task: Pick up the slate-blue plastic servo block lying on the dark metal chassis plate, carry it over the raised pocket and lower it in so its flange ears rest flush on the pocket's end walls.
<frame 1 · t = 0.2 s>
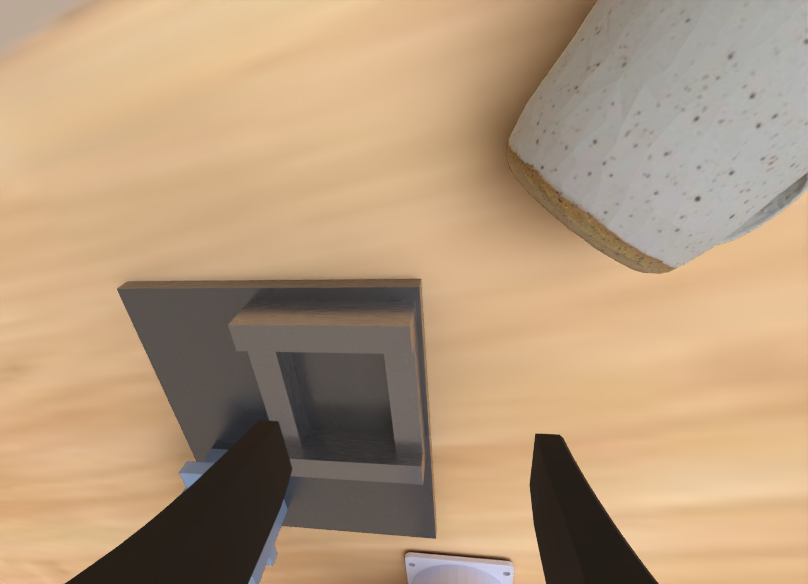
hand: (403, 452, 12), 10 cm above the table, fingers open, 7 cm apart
chassis: (303, 421, 26), on the table
ceramic mug: (664, 110, 16), on the table
servo: (250, 480, 29), point 1 cm above the table, touching chassis
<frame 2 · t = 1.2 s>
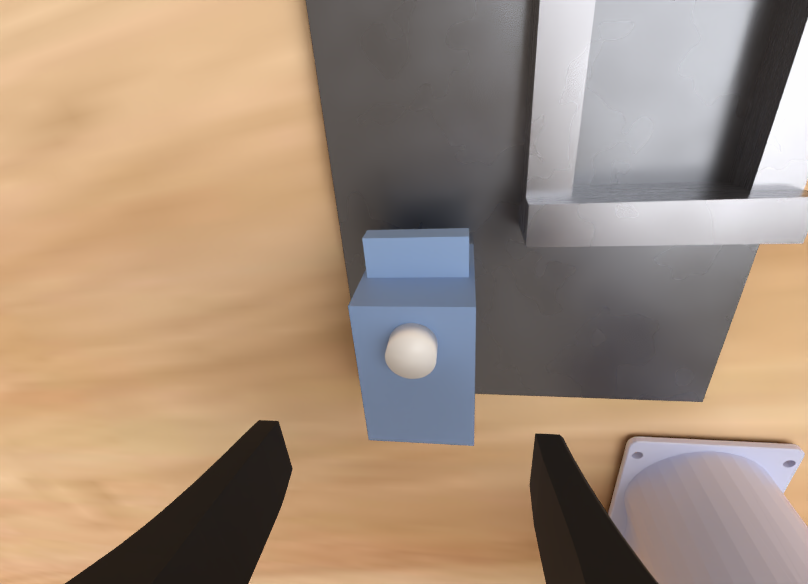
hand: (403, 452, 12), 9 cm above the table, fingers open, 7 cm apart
chassis: (538, 187, 16), on the table
servo: (427, 307, 19), point 1 cm above the table, touching chassis
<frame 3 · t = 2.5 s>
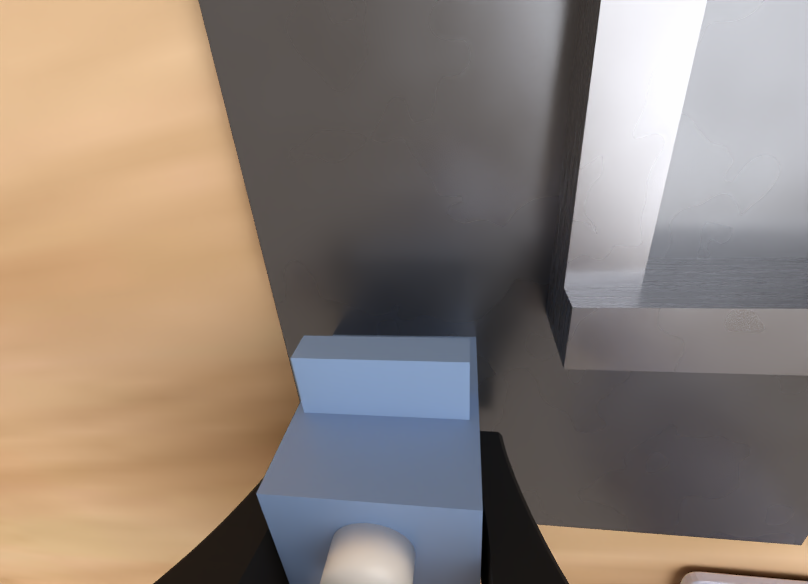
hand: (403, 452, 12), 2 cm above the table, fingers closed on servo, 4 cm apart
chassis: (576, 255, 11), on the table
servo: (409, 415, 13), point 1 cm above the table, touching chassis, gripper
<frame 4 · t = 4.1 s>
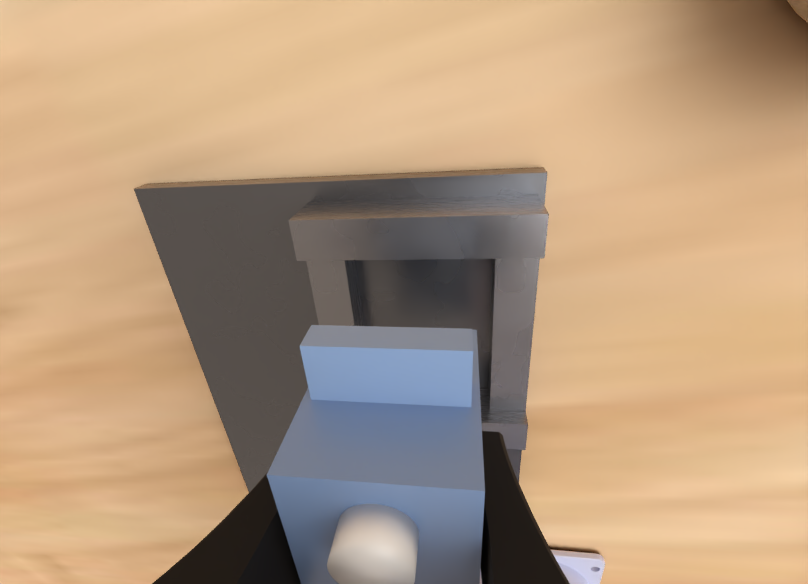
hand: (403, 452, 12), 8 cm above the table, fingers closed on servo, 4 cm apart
chassis: (361, 376, 21), on the table
servo: (410, 406, 13), point 6 cm above the table, touching gripper
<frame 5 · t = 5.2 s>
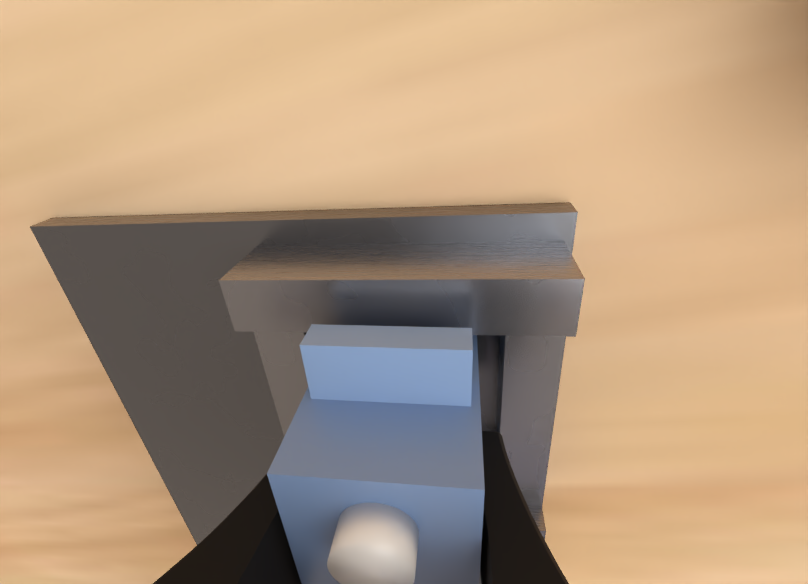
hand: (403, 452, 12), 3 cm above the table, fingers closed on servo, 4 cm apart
chassis: (336, 447, 17), on the table
servo: (410, 406, 13), point 2 cm above the table, touching gripper
when the fingers open (3 cm above the table, at t = 5.2 s): servo stays where it is, resting on chassis.
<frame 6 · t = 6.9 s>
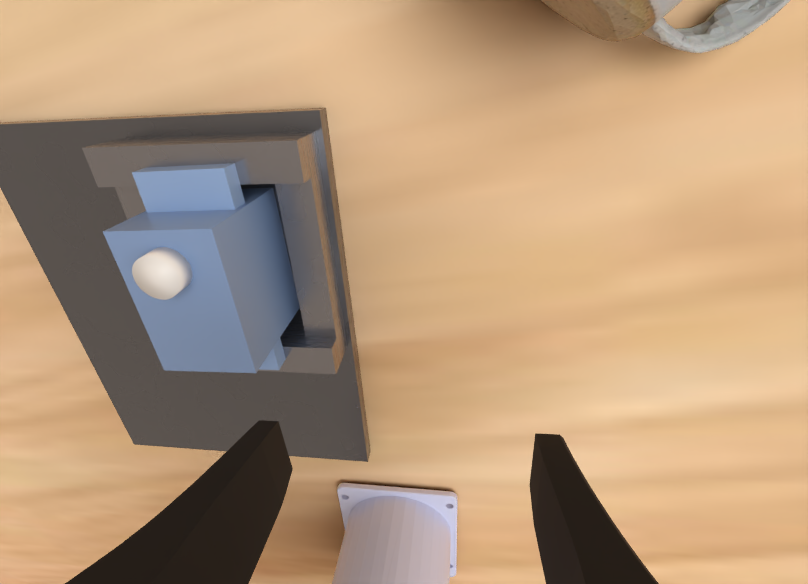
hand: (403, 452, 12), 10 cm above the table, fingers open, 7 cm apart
chassis: (210, 314, 23), on the table
servo: (247, 252, 20), point 1 cm above the table, touching chassis
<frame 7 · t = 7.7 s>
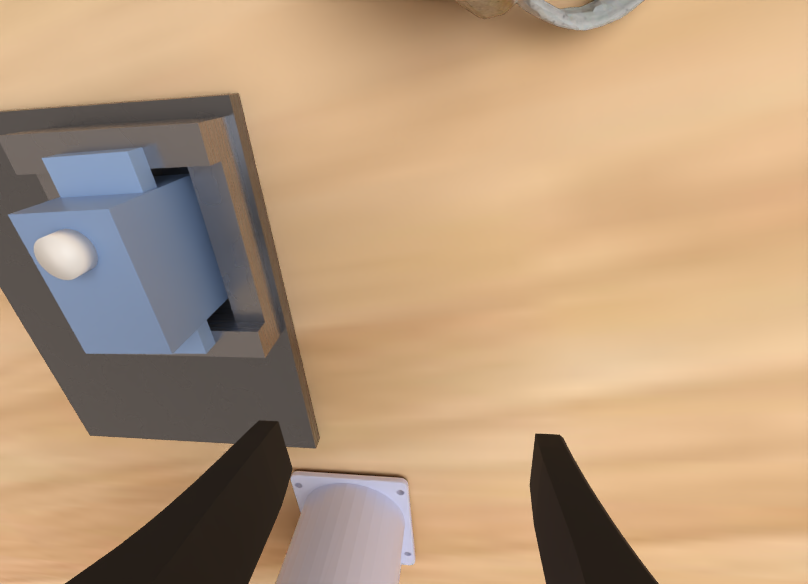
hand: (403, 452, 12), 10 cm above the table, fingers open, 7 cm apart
chassis: (150, 302, 23), on the table
servo: (176, 239, 20), point 1 cm above the table, touching chassis
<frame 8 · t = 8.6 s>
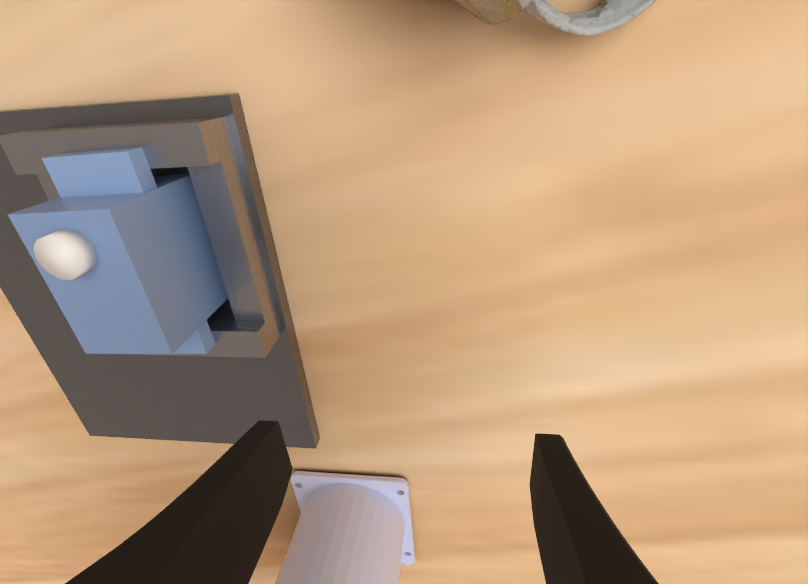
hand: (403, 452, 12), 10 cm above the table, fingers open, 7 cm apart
chassis: (150, 302, 23), on the table
servo: (176, 239, 20), point 1 cm above the table, touching chassis
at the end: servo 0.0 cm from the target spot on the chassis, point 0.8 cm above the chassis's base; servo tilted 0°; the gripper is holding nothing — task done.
